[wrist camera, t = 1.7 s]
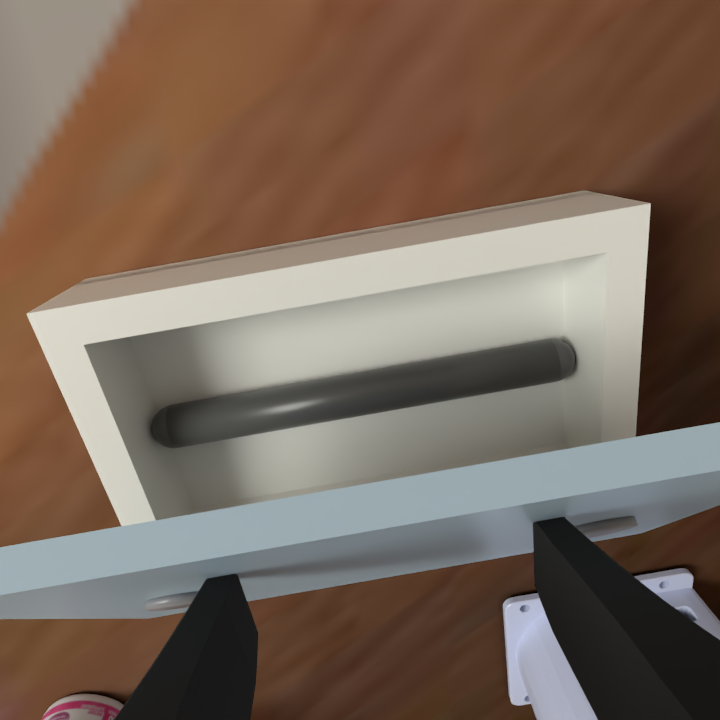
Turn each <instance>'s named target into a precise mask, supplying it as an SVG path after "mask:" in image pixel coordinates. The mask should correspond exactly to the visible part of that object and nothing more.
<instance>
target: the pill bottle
mask: <svg viewBox="0 0 720 720" xmlns="http://www.w3.org/2000/svg"><path fill="white" fill-rule="evenodd" d="M123 706H124V705H123V704H122V703H120V702H119V701H117V700H114V699H112V698H109V697H106V696H102V695H96V694H74V695H70V696H67V697H64V698H62V699H60V700H58V701H56V702H55V703H54V704H52V705H51V706H50V707H49V709H48V710H47V711H46V713H45V715H44V716H43V718H42V720H114V718H115V717H116V716H117V714H118V713H119V712H120V710H121V709H122V707H123Z"/></svg>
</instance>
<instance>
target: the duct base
mask: <svg viewBox="0 0 720 720" xmlns="http://www.w3.org/2000/svg"><path fill="white" fill-rule="evenodd" d="M650 208H651V203H647V202H641V201H636V200H631V199H626V198H621V197H616V196H611V195H606V194H600V193H595V192H590V191H579V192H573V193H568V194H562V195H556V196H551V197H545V198H539V199H534V200H528V201H522V202H517V203H511V204H505V205H500V206H494V207H488V208H483V209H477V210H472V211H466V212H460V213H455V214H449V215H443V216H438V217H432V218H426V219H421V220H415V221H409V222H404V223H398V224H392V225H387V226H381V227H375V228H370V229H364V230H358V231H353V232H347V233H342V234H336V235H330V236H325V237H319V238H313V239H308V240H302V241H296V242H291V243H285V244H279V245H274V246H268V247H262V248H257V249H251V250H245V251H240V252H234V253H229V254H223V255H217V256H212V257H206V258H200V259H195V260H189V261H183V262H178V263H172V264H166V265H161V266H155V267H149V268H144V269H138V270H132V271H127V272H121V273H115V274H110V275H104V276H99V277H93V278H87V279H85V280H83V281H81V282H80V283H78V284H76V285H75V286H73V287H71V288H69V289H68V290H66V291H64V292H63V293H61V294H59V295H57V296H56V297H54V298H52V299H51V300H49V301H47V302H45V303H44V304H42V305H40V306H39V307H37V308H35V309H33V310H32V311H30V312H28V313H27V316H28V318H29V321H30V323H31V325H32V327H33V330H34V332H35V334H36V336H37V338H38V341H39V343H40V345H41V347H42V350H43V352H44V354H45V356H46V359H47V361H48V363H49V365H50V367H51V370H52V372H53V374H54V376H55V379H56V381H57V383H58V385H59V388H60V390H61V392H62V394H63V396H64V399H65V401H66V403H67V405H68V408H69V410H70V412H71V414H72V416H73V419H74V421H75V423H76V425H77V428H78V430H79V432H80V434H81V437H82V439H83V441H84V443H85V445H86V448H87V450H88V452H89V454H90V457H91V459H92V461H93V463H94V465H95V468H96V470H97V472H98V474H99V477H100V479H101V481H102V483H103V486H104V488H105V490H106V492H107V494H108V497H109V499H110V501H111V503H112V506H113V508H114V510H115V512H116V515H117V517H118V519H119V521H120V523H121V526H126V525H132V524H138V523H144V522H149V521H155V520H161V519H167V518H172V517H178V516H184V515H190V514H195V513H201V512H207V511H213V510H218V509H224V508H230V507H236V506H241V505H247V504H253V503H259V502H264V501H270V500H276V499H282V498H287V497H293V496H299V495H305V494H310V493H316V492H322V491H328V490H333V489H339V488H345V487H351V486H356V485H362V484H368V483H374V482H379V481H385V480H391V479H397V478H402V477H408V476H414V475H420V474H425V473H431V472H437V471H442V470H448V469H454V468H460V467H465V466H471V465H477V464H483V463H488V462H494V461H500V460H506V459H511V458H517V457H523V456H529V455H534V454H540V453H546V452H552V451H557V450H563V449H569V448H575V447H580V446H586V445H592V444H598V443H603V442H609V441H615V440H621V439H626V438H632V437H636V424H637V408H638V393H639V377H640V362H641V346H642V331H643V316H644V300H645V285H646V269H647V254H648V238H649V223H650Z"/></svg>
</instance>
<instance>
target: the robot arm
mask: <svg viewBox="0 0 720 720" xmlns="http://www.w3.org/2000/svg"><path fill="white" fill-rule="evenodd" d="M533 545H534V575H535V587H536V590H537V593H534V594H528V595H522V596H516V597H511V598H508V599H507V600H505V602H504V603H503V617H504V631H505V645H506V660H507V674H508V689H509V697H510V700H511V703H512V704H514V705H525V704H531V705H532V707H533V710H534V713H535V716H536V718H537V720H720V621H719V620H718V618H717V617H716V616H715V615H714V614H713V612H712V611H711V610H710V609H709V608H708V606H707V605H706V604H705V603H704V601H703V600H702V599H701V598H700V597H699V595H698V594H697V593H696V592H695V590H694V589H693V588H692V586H693V579H694V578H693V575H692V574H691V573H690V572H689V571H688V569H685V568H679V569H673V570H667V571H661V572H656V573H650V574H644V575H638V576H633V575H631V574H630V573H629V572H628V571H626V570H625V569H624V568H623V567H621V566H620V565H619V564H618V563H617V562H615V561H614V560H613V559H612V558H611V557H609V556H608V555H607V554H606V553H605V552H604V551H602V550H601V549H600V548H599V547H598V546H597V545H595V544H594V543H593V542H592V541H591V540H590V539H588V538H587V537H586V536H585V535H584V534H583V533H582V532H581V531H579V530H578V529H577V528H576V527H575V526H574V525H573V524H572V523H570V522H569V521H568V520H567V519H566V518H565V517H559V518H553V519H548V520H542V521H536V522H534V523H533ZM257 649H258V631H257V629H256V626H255V623H254V620H253V617H252V614H251V611H250V609H249V606H248V603H247V600H246V597H245V594H244V591H243V588H242V586H241V583H240V580H239V577H238V575H237V574H230V575H225V576H219V577H213V578H207V579H206V580H205V581H204V583H203V585H202V586H201V588H200V590H199V591H198V593H197V595H196V596H195V598H194V599H193V601H192V603H191V604H190V606H189V608H188V609H187V611H186V613H185V614H184V616H183V618H182V619H181V621H180V622H179V624H178V626H177V627H176V629H175V630H174V632H173V634H172V635H171V637H170V638H169V640H168V641H167V643H166V644H165V646H164V647H163V649H162V651H161V652H160V654H159V655H158V657H157V658H156V660H155V661H154V663H153V664H152V666H151V667H150V669H149V670H148V672H147V673H146V675H145V676H144V678H143V679H142V680H141V682H140V683H139V685H138V686H137V688H136V689H135V690H134V692H133V693H132V695H131V696H130V697H129V699H128V700H127V702H126V703H125V705H124V706H123V707H122V709H121V710H120V712H119V713H118V714H117V716H116V717H115V718H114V720H250V717H251V710H252V704H253V697H254V691H255V684H256V669H257Z"/></svg>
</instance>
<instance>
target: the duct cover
mask: <svg viewBox="0 0 720 720" xmlns="http://www.w3.org/2000/svg"><path fill="white" fill-rule="evenodd" d="M719 505H720V422H718V423H713V424H707V425H701V426H695V427H690V428H684V429H678V430H672V431H667V432H661V433H655V434H649V435H644V436H638V437H632V438H626V439H621V440H615V441H609V442H603V443H598V444H592V445H586V446H580V447H575V448H569V449H563V450H557V451H552V452H546V453H540V454H534V455H529V456H523V457H517V458H511V459H506V460H500V461H494V462H488V463H483V464H477V465H471V466H465V467H460V468H454V469H448V470H442V471H437V472H431V473H425V474H420V475H414V476H408V477H402V478H397V479H391V480H385V481H379V482H374V483H368V484H362V485H356V486H351V487H345V488H339V489H333V490H328V491H322V492H316V493H310V494H305V495H299V496H293V497H287V498H282V499H276V500H270V501H264V502H259V503H253V504H247V505H241V506H236V507H230V508H224V509H218V510H213V511H207V512H201V513H195V514H190V515H184V516H178V517H172V518H167V519H161V520H155V521H149V522H144V523H138V524H132V525H126V526H121V527H115V528H109V529H103V530H98V531H92V532H86V533H80V534H75V535H69V536H63V537H57V538H52V539H46V540H40V541H34V542H29V543H23V544H17V545H12V546H6V547H0V619H104V618H154V617H160V616H166V615H172V614H178V613H183V612H186V611H187V609H188V608H189V606H190V604H191V603H192V601H193V599H194V598H195V596H196V595H197V593H198V591H199V590H200V588H201V586H202V585H203V583H204V581H205V580H206V579H207V578H213V577H219V576H225V575H230V574H237V575H238V577H239V580H240V583H241V586H242V588H243V591H244V594H245V597H246V600H247V601H253V600H258V599H264V598H270V597H276V596H282V595H287V594H293V593H299V592H305V591H311V590H316V589H322V588H328V587H334V586H339V585H345V584H351V583H357V582H363V581H368V580H374V579H380V578H386V577H391V576H397V575H403V574H409V573H415V572H420V571H426V570H432V569H438V568H444V567H449V566H455V565H461V564H467V563H472V562H478V561H484V560H490V559H496V558H501V557H507V556H513V555H519V554H525V553H530V552H534V545H533V523H534V522H536V521H542V520H548V519H553V518H559V517H565V518H566V519H567V520H568V521H569V522H570V523H572V524H573V525H574V526H575V527H576V528H577V529H578V530H579V531H581V532H582V533H583V534H584V535H585V536H586V537H587V538H588V539H590V540H591V541H592V542H594V541H600V540H605V539H611V538H617V537H623V536H629V535H634V534H640V533H644V532H646V531H649V530H652V529H655V528H657V527H660V526H663V525H666V524H669V523H671V522H674V521H677V520H680V519H682V518H685V517H688V516H691V515H694V514H696V513H699V512H702V511H705V510H707V509H710V508H713V507H716V506H719Z"/></svg>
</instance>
